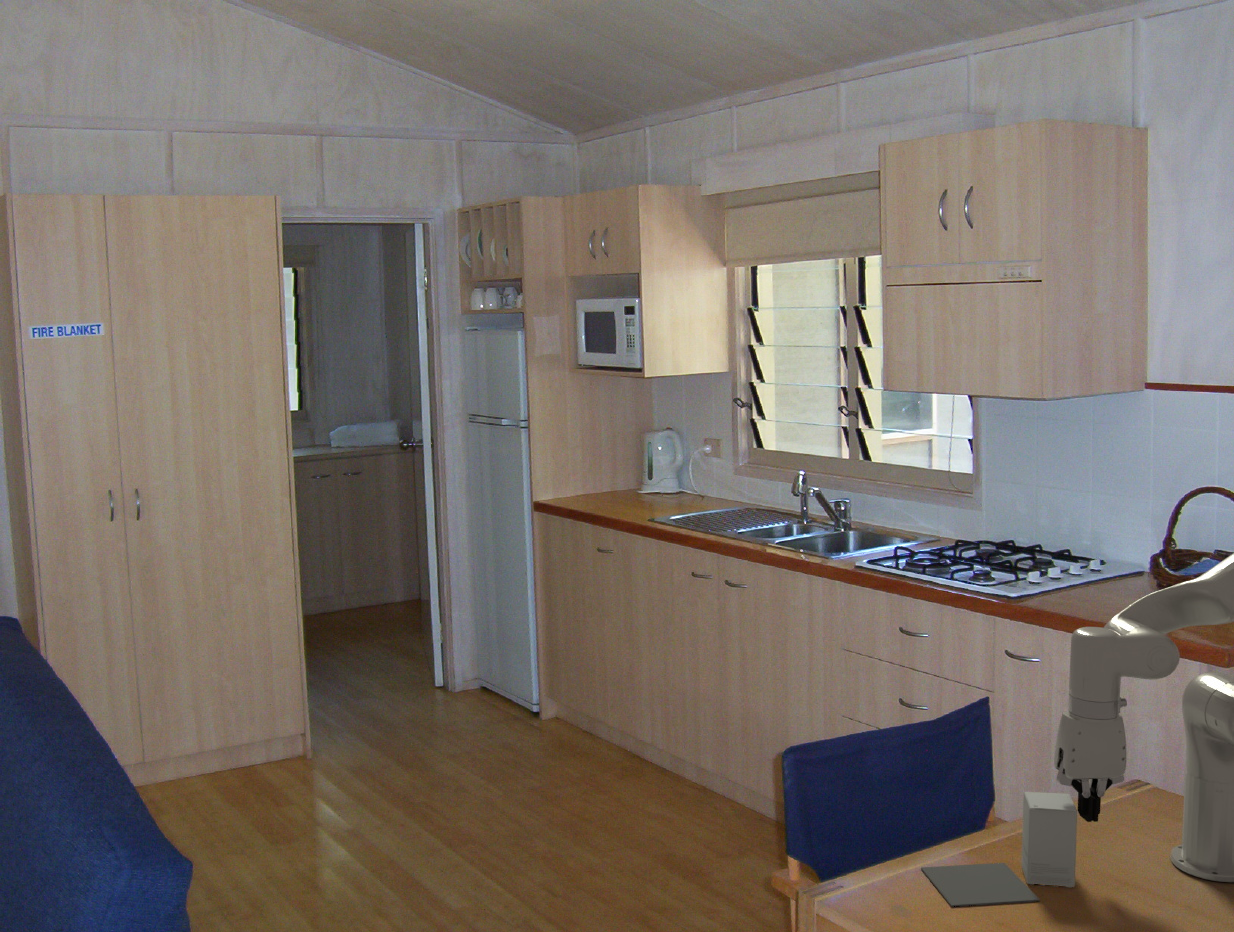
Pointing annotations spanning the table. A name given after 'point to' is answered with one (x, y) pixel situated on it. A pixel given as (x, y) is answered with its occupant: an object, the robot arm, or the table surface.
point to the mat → (979, 884)
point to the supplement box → (1049, 839)
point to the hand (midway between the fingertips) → (1088, 818)
